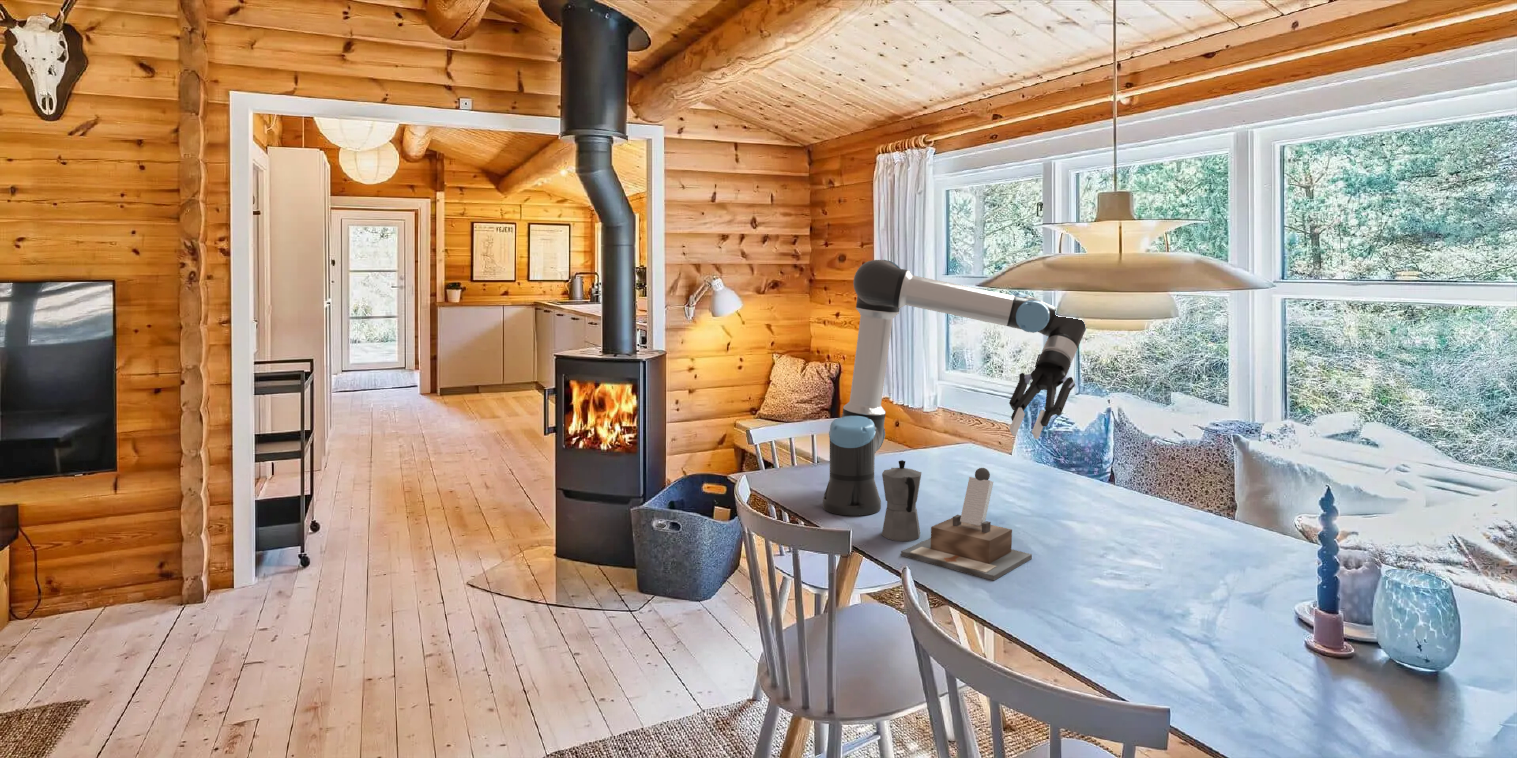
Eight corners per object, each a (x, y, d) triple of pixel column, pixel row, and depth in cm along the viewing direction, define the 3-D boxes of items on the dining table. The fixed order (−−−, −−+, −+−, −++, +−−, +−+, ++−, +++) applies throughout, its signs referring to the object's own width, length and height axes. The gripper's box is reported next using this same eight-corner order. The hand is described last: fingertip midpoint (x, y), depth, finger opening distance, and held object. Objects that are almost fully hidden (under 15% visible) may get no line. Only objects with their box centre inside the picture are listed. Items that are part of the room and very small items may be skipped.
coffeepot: (874, 527, 201) (875, 454, 198) (912, 525, 202) (913, 453, 199) (891, 548, 186) (892, 470, 183) (932, 546, 187) (933, 468, 184)
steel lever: (958, 520, 181) (970, 464, 183) (964, 523, 183) (976, 467, 185) (978, 525, 178) (991, 468, 179) (985, 527, 180) (997, 471, 182)
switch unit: (901, 555, 181) (901, 520, 180) (942, 536, 193) (942, 503, 192) (993, 580, 166) (994, 542, 165) (1031, 558, 178) (1033, 522, 177)
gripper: (1096, 371, 201) (1065, 448, 191) (1026, 365, 213) (993, 438, 204) (1088, 350, 196) (1056, 429, 187) (1017, 346, 209) (983, 420, 199)
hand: (1023, 433), depth 195 cm, fingers open, 5 cm apart
